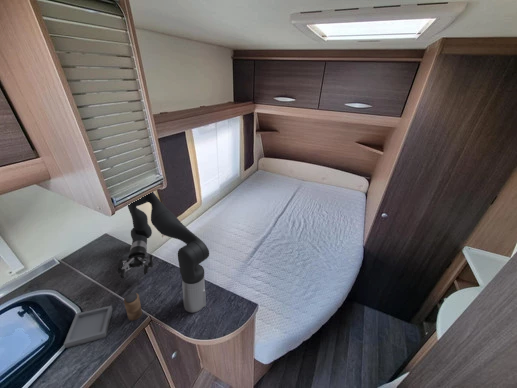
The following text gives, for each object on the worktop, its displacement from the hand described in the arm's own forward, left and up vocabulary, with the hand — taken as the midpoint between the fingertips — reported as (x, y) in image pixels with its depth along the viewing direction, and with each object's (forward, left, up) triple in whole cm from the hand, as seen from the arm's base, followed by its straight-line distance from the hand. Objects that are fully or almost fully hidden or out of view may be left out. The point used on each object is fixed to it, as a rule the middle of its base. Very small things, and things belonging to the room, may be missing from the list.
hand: (134, 275), depth 92 cm
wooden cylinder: (0, +11, -11) cm, 16 cm away
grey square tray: (+15, +12, -11) cm, 22 cm away
